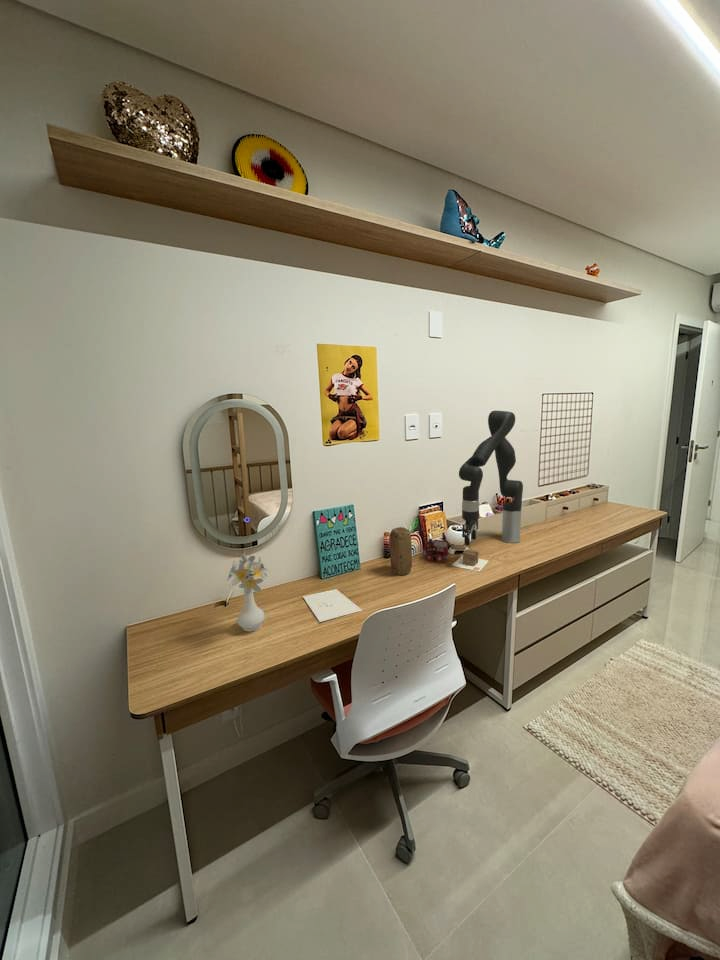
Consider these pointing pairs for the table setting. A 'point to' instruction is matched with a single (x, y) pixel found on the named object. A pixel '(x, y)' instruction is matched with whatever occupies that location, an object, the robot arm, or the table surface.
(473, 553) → the cube
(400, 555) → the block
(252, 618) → the flower vase
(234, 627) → the table surface
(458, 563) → the letter
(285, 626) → the table surface
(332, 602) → the paper sheet
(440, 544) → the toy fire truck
